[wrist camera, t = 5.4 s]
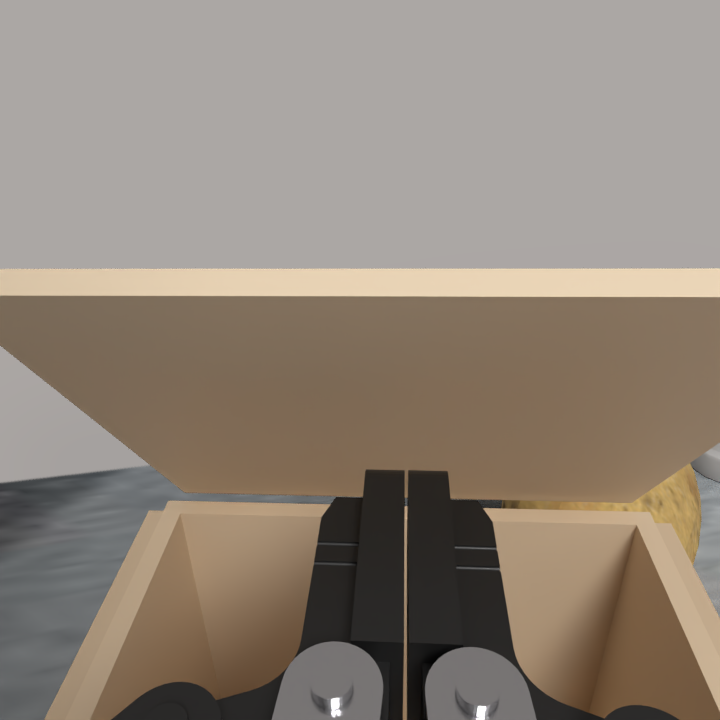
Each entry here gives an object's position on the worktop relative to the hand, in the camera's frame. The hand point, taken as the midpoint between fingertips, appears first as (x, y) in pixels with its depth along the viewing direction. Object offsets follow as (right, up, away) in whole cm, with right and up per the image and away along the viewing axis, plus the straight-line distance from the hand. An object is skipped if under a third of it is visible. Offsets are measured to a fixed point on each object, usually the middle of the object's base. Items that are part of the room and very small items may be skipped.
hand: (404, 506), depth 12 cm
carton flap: (0, +1, +4) cm, 4 cm away
